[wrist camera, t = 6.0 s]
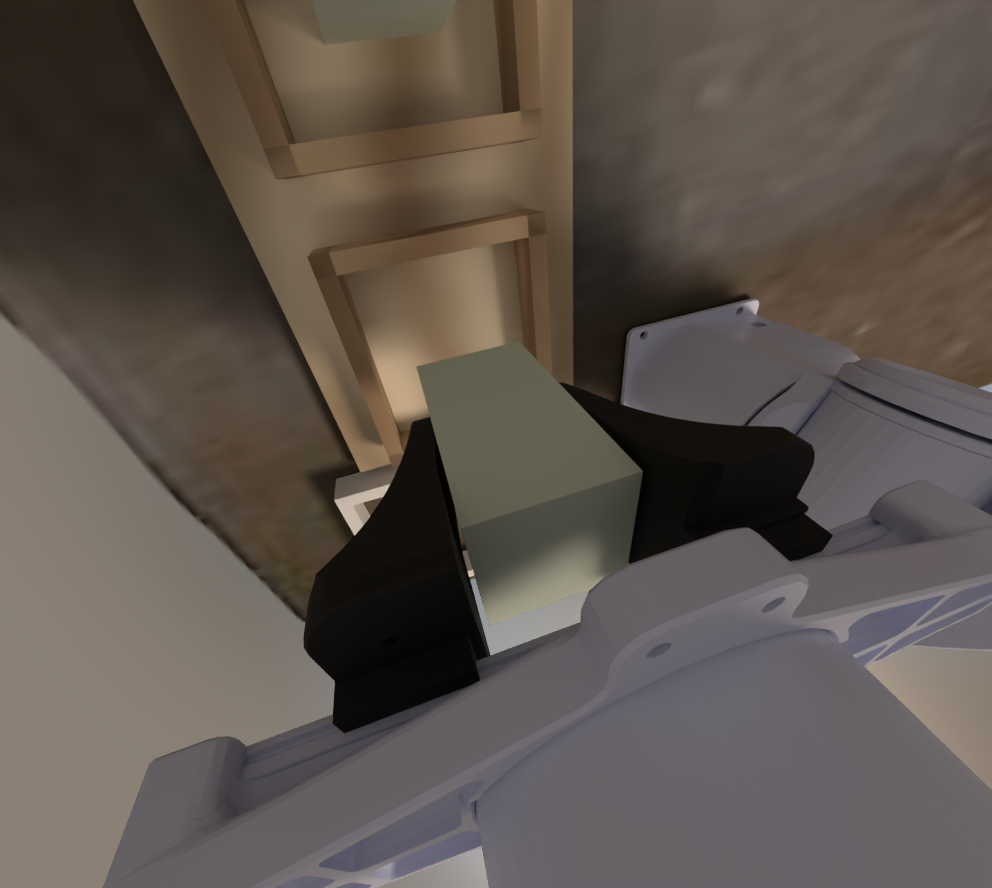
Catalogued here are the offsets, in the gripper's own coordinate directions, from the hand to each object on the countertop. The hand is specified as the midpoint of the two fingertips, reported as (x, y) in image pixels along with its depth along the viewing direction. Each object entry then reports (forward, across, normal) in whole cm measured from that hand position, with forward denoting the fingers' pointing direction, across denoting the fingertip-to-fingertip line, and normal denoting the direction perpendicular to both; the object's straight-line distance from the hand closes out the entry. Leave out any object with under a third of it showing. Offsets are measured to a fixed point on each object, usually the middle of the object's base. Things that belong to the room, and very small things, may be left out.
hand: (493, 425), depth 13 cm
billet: (+3, 0, 0) cm, 3 cm away
